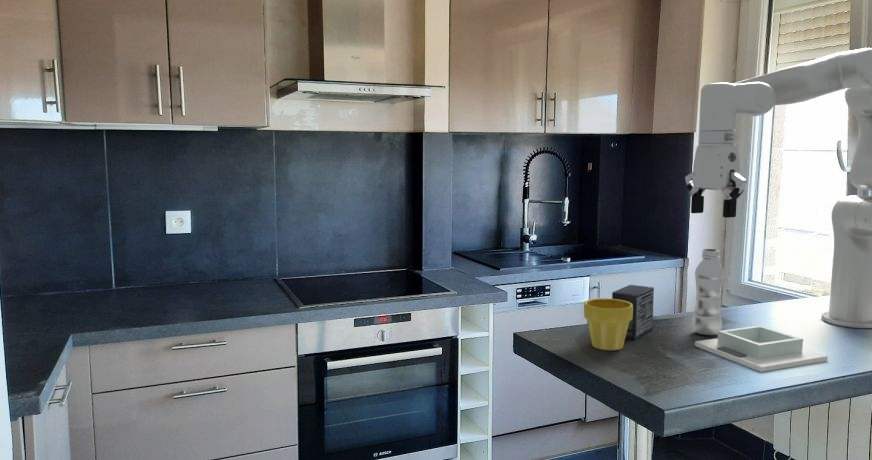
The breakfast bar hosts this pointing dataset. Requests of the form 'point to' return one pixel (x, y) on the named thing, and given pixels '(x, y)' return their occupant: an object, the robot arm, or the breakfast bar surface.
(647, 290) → the small box
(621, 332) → the plant pot
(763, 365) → the charging dock
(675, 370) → the breakfast bar surface
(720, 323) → the metal bottle
